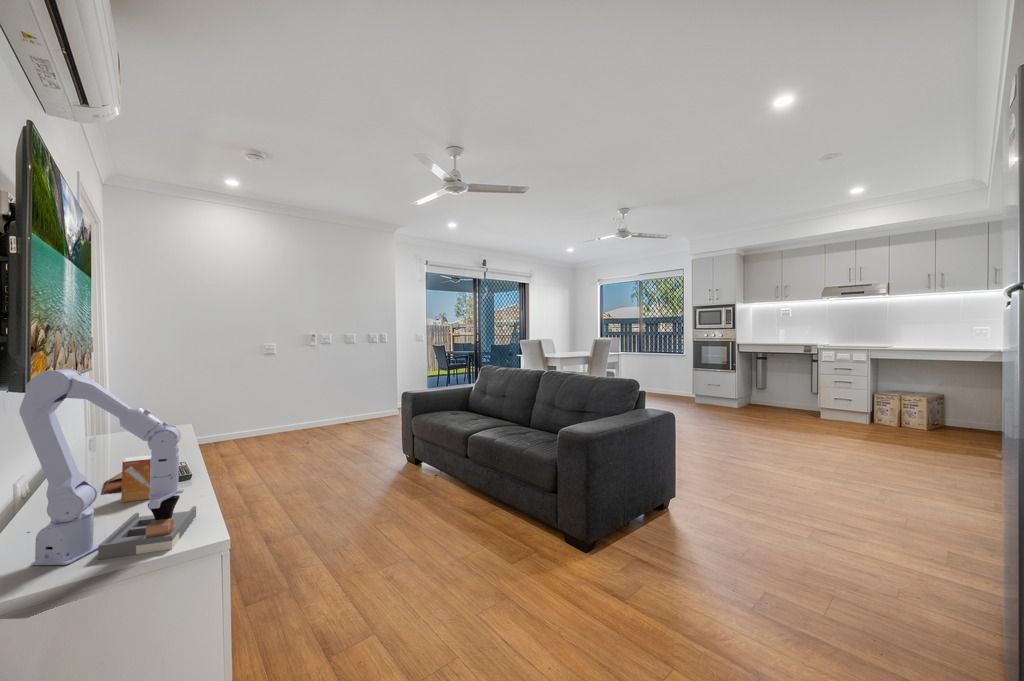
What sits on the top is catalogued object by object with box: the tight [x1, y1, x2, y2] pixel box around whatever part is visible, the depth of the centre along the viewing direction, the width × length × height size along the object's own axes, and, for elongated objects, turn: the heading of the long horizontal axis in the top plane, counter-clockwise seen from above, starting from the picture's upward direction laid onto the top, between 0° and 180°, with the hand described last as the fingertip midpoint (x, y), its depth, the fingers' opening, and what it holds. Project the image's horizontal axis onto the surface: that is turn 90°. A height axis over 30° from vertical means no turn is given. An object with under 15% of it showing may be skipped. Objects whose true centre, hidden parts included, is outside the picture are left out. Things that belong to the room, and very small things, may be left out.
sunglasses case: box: [101, 471, 122, 496], centre depth 152 cm, size 18×7×7 cm
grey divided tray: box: [97, 505, 197, 560], centre depth 113 cm, size 21×14×3 cm, turn 23°
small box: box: [120, 454, 151, 503], centre depth 140 cm, size 8×6×13 cm
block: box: [146, 518, 174, 538], centre depth 108 cm, size 4×4×4 cm
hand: (163, 527), depth 111 cm, fingers closed
